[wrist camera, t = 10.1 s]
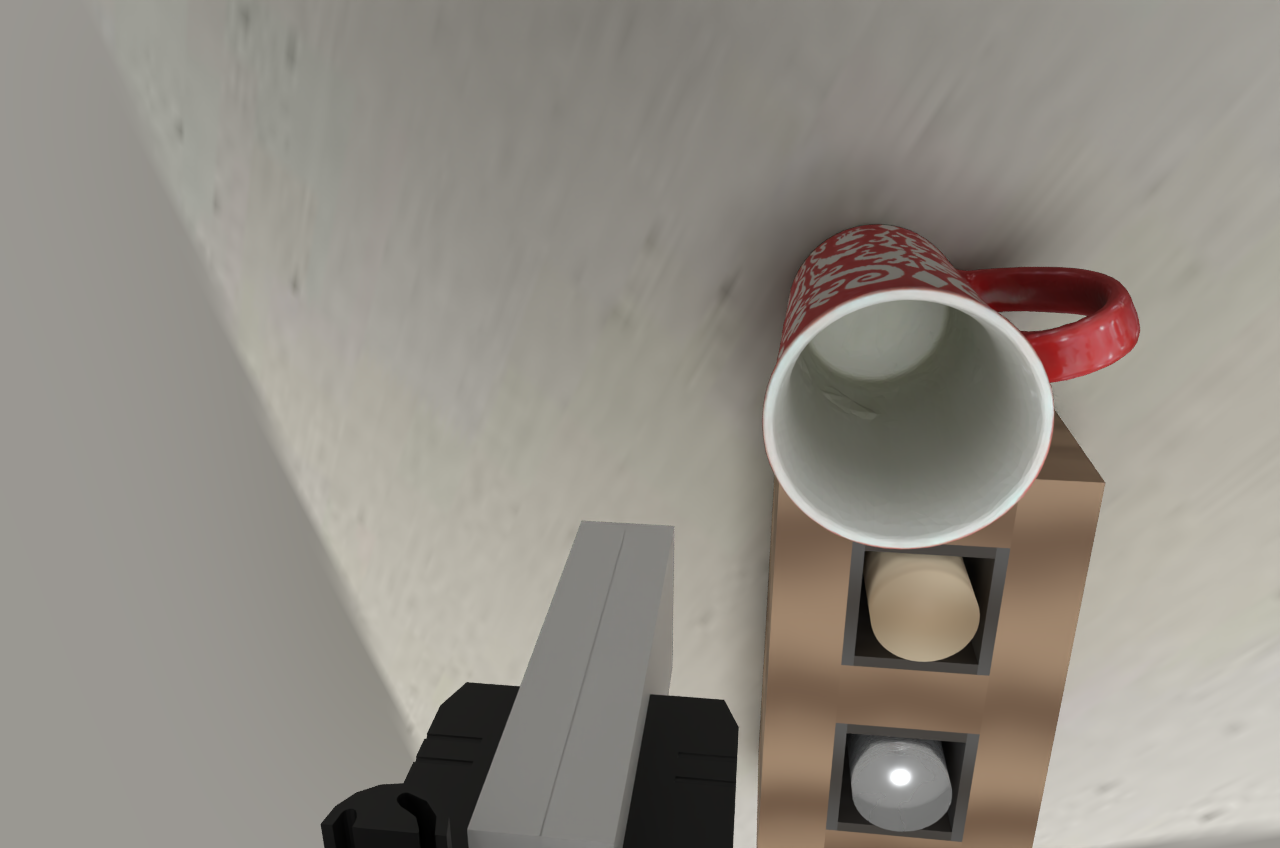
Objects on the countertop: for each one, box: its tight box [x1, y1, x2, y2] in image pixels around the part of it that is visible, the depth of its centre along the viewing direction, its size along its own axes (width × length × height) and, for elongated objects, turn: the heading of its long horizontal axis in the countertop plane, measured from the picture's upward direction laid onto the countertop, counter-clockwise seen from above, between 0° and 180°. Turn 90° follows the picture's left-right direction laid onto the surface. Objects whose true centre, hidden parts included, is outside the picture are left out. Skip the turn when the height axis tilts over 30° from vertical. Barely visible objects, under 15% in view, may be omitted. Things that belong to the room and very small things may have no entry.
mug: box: [762, 225, 1140, 549], centre depth 37 cm, size 13×9×14 cm
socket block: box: [757, 410, 1105, 848], centre depth 46 cm, size 21×12×8 cm, turn 0°
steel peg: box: [846, 733, 952, 832], centre depth 46 cm, size 4×4×8 cm
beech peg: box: [863, 551, 980, 662], centre depth 43 cm, size 4×4×8 cm
